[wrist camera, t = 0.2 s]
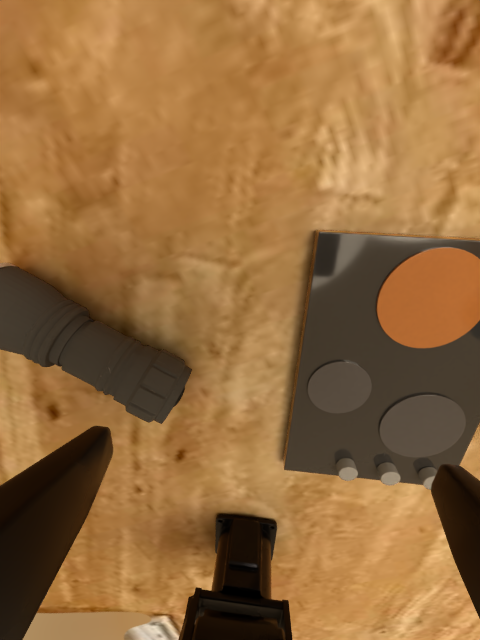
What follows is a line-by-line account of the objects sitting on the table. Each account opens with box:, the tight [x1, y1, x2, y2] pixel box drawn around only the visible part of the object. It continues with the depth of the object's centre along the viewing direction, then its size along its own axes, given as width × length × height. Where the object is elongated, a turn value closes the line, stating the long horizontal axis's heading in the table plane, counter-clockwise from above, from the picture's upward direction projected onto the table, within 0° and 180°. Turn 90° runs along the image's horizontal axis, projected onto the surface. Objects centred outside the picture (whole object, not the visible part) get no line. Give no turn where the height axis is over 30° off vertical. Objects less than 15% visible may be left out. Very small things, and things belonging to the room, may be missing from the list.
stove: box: [283, 230, 480, 490], centre depth 22 cm, size 21×14×2 cm
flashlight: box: [0, 263, 192, 424], centre depth 21 cm, size 15×5×5 cm, turn 59°
